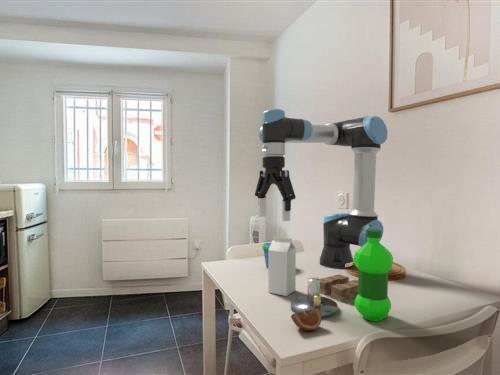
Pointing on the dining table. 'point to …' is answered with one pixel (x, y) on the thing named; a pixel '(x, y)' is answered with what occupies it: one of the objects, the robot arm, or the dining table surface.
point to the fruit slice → (307, 319)
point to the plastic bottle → (373, 277)
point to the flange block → (339, 287)
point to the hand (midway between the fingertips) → (273, 218)
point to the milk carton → (281, 266)
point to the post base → (304, 306)
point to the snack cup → (266, 252)
